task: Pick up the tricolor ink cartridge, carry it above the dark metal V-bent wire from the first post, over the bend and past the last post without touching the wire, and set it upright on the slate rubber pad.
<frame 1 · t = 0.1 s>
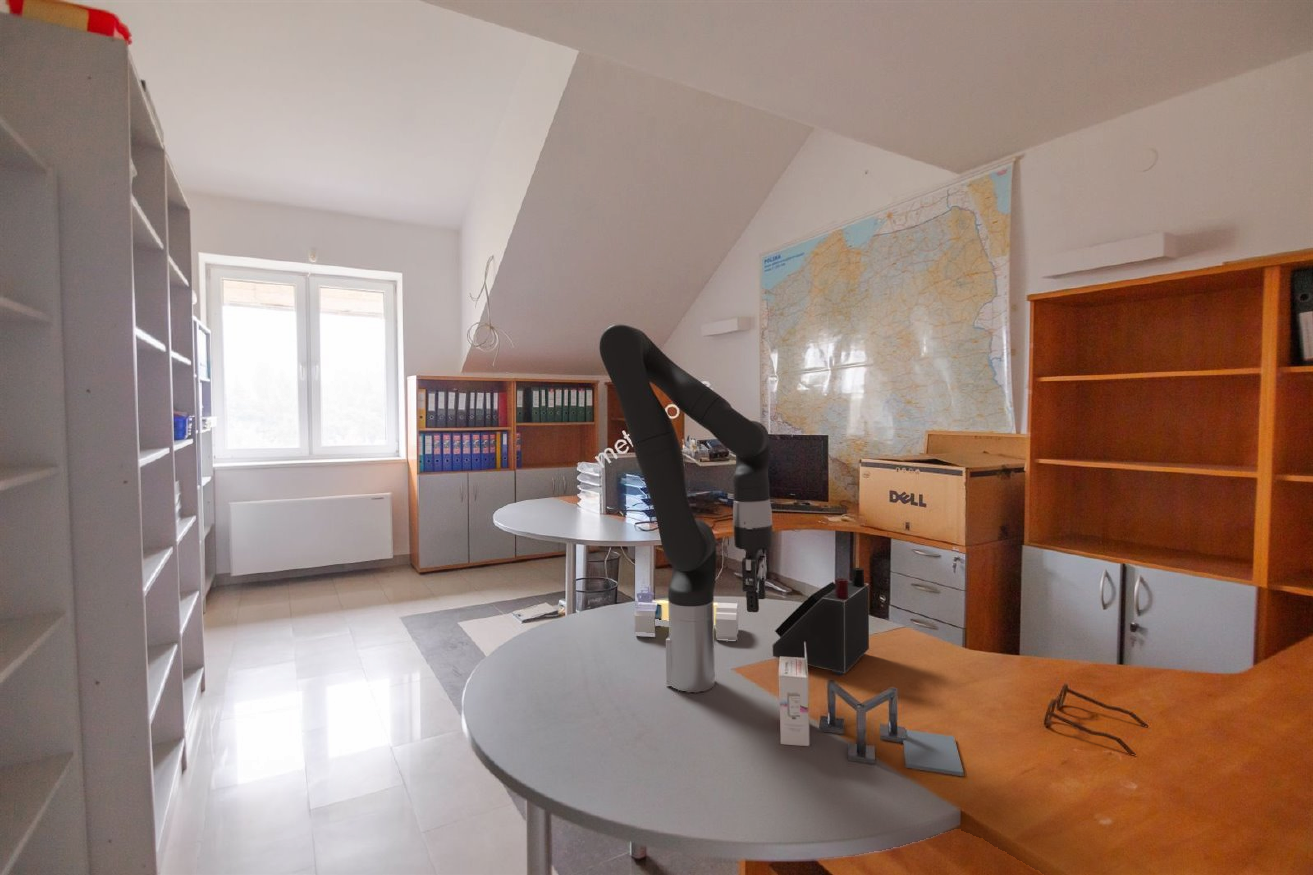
hand: (756, 605, 121), 17 cm above the table, tool pointing down, fingers open, 8 cm apart
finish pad: (930, 753, 99), on the table
diorama: (687, 635, 156), on the table
glasses: (1096, 731, 106), on the table
bent wire: (861, 743, 102), on the table
voltmeter: (820, 659, 138), on the table
ink cartridge box: (794, 734, 106), on the table
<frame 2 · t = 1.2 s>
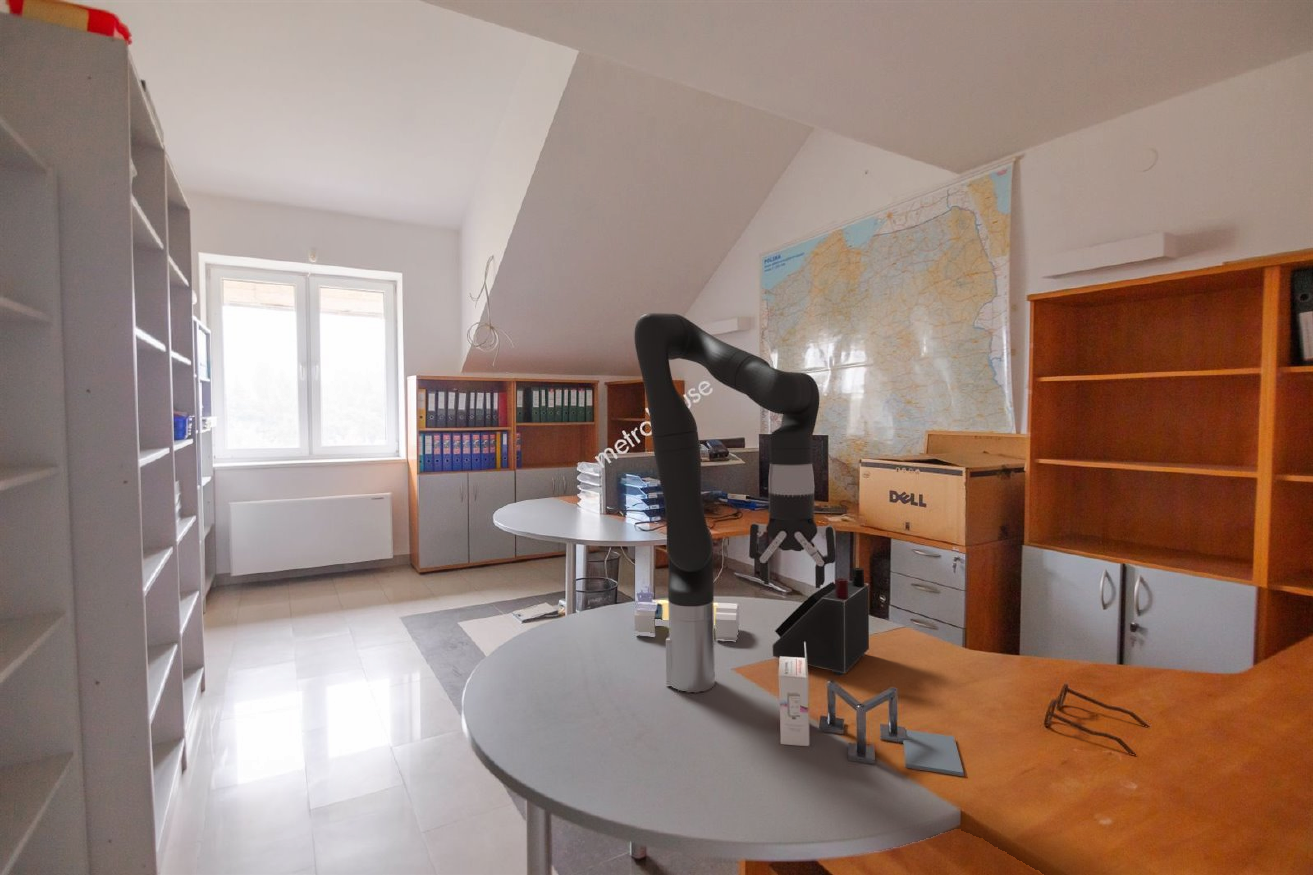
hand: (792, 585, 105), 25 cm above the table, tool pointing down, fingers open, 8 cm apart
nothing on the table moved.
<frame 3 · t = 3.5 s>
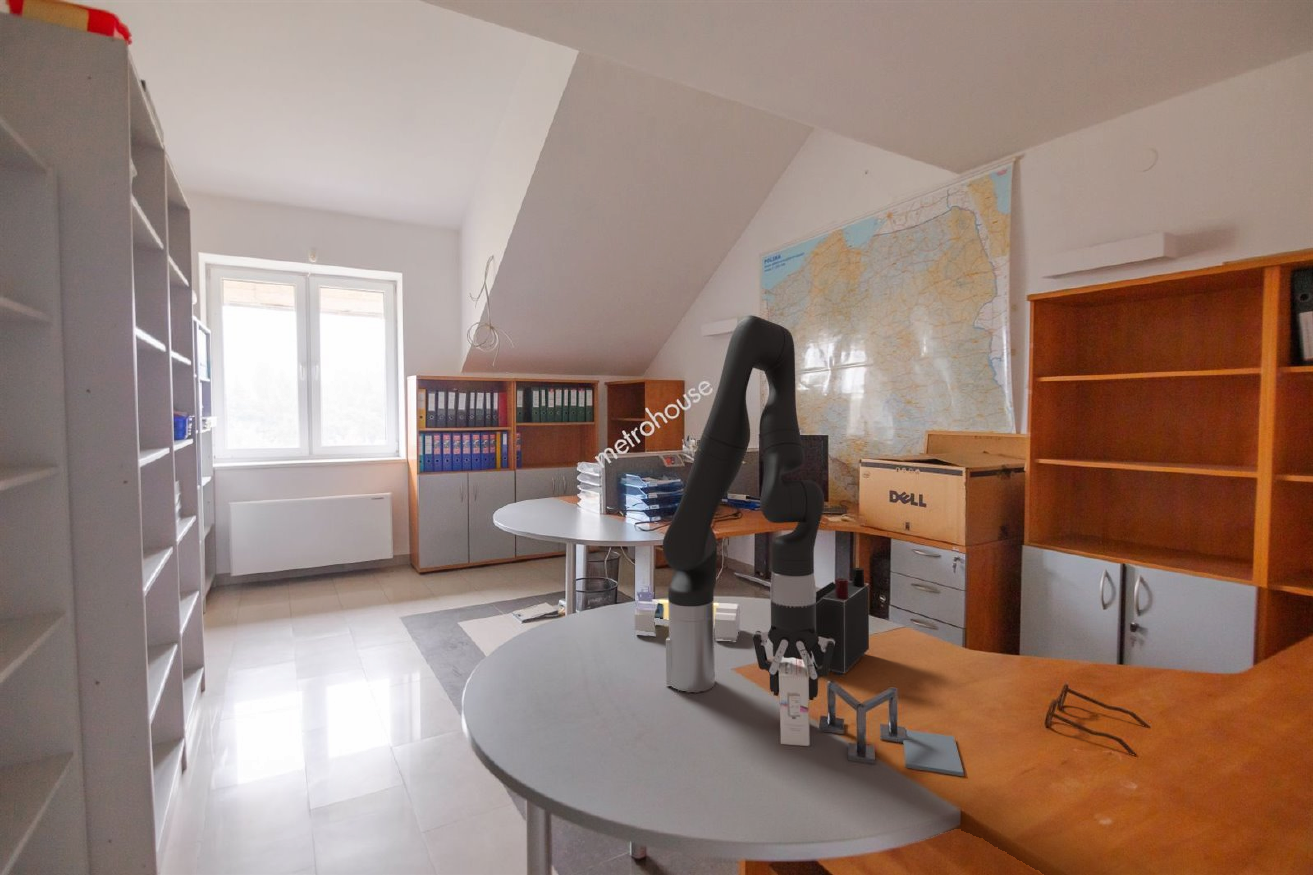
hand: (794, 695, 106), 6 cm above the table, tool pointing down, fingers closed on ink cartridge box, 5 cm apart
ink cartridge box: (794, 734, 106), on the table, touching gripper
everything else where it was.
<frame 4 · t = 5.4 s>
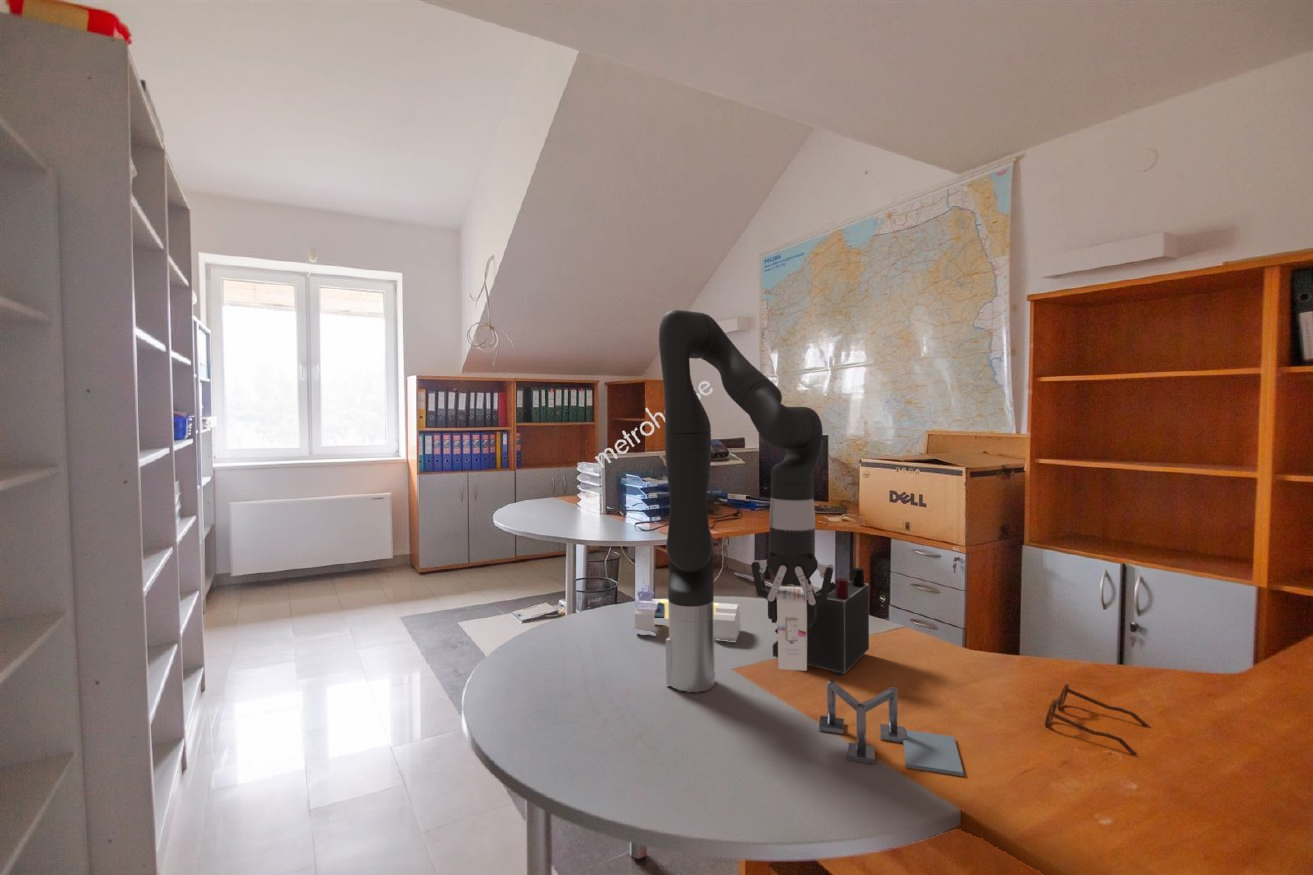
hand: (792, 623, 105), 19 cm above the table, tool pointing down, fingers closed on ink cartridge box, 5 cm apart
ink cartridge box: (791, 661, 106), point 12 cm above the table, touching gripper
everything else where it was.
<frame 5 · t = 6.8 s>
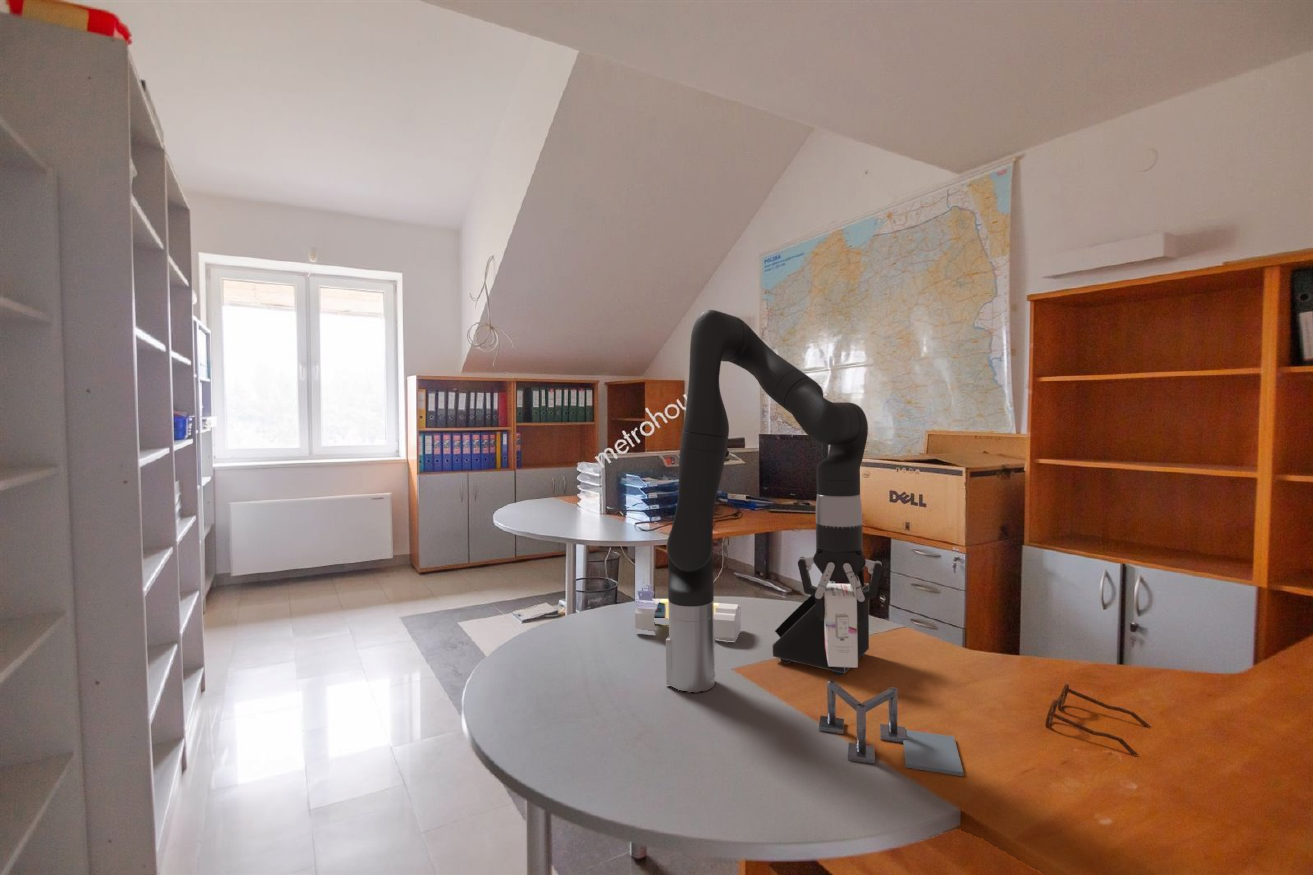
hand: (840, 620, 105), 20 cm above the table, tool pointing down, fingers closed on ink cartridge box, 5 cm apart
ink cartridge box: (840, 659, 105), point 13 cm above the table, touching gripper
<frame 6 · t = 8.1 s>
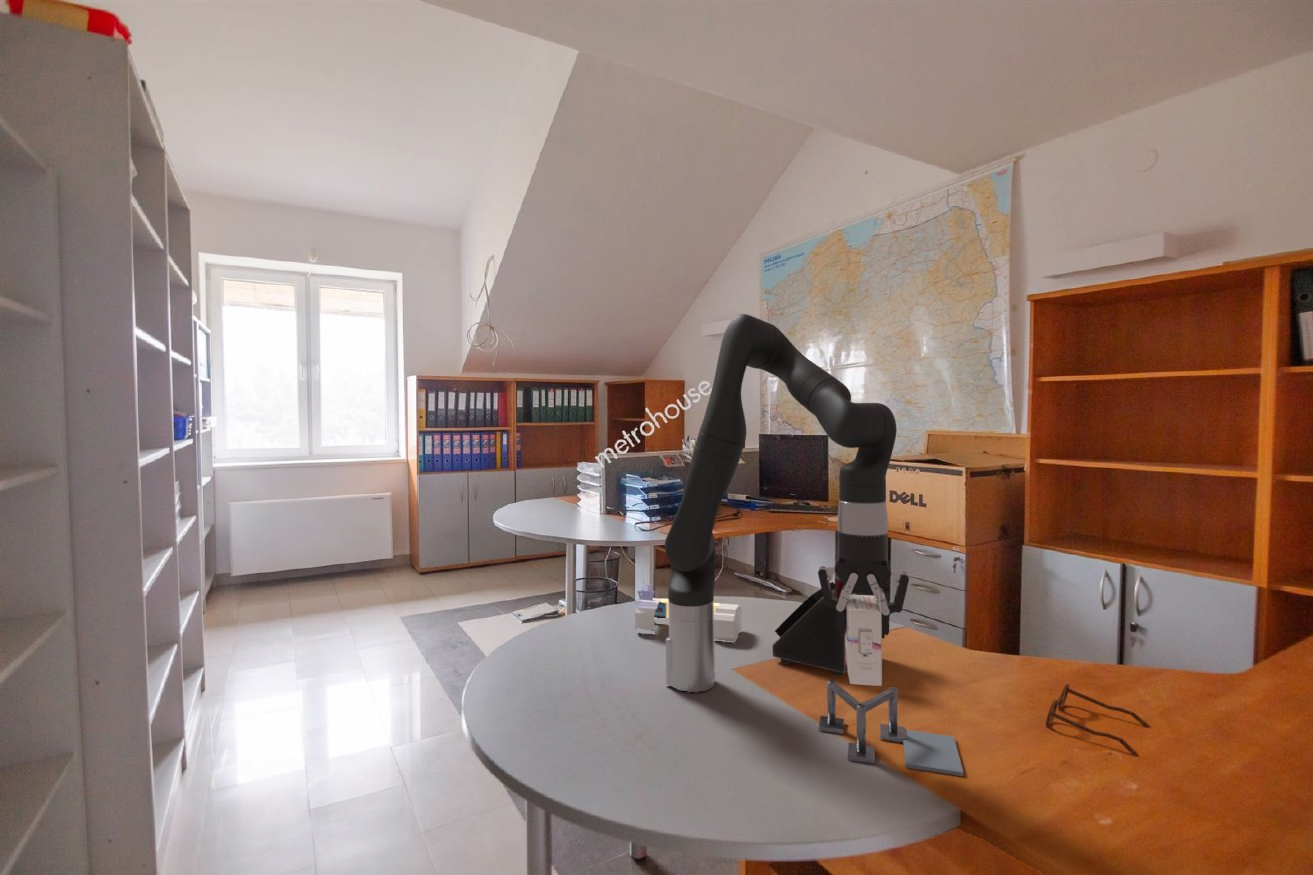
hand: (862, 634, 99), 19 cm above the table, tool pointing down, fingers closed on ink cartridge box, 5 cm apart
ink cartridge box: (862, 675, 99), point 13 cm above the table, touching gripper
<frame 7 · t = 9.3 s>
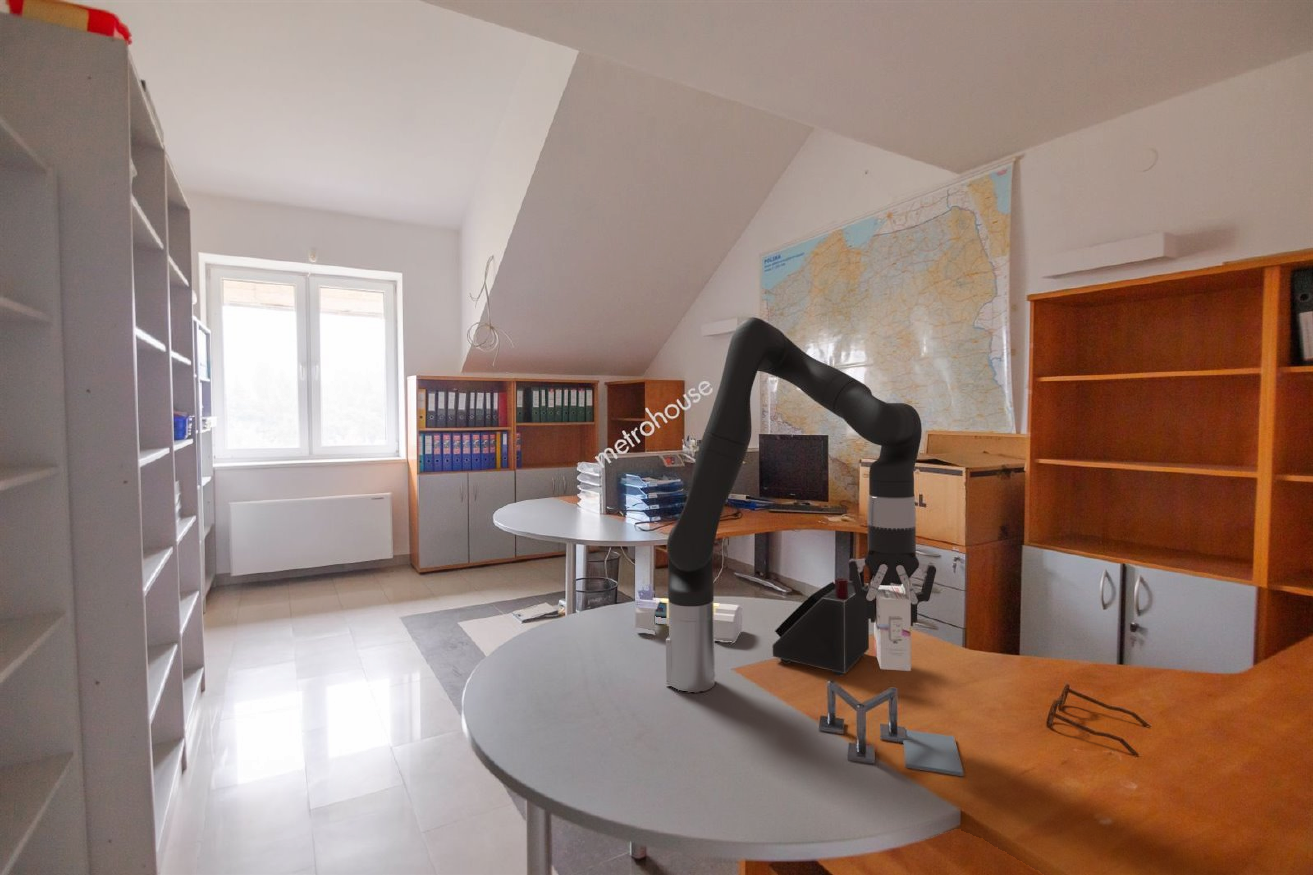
hand: (891, 622, 104), 19 cm above the table, tool pointing down, fingers closed on ink cartridge box, 5 cm apart
ink cartridge box: (891, 661, 104), point 13 cm above the table, touching gripper
when the fingers open (8 cm above the table, at t = 13.3 s): ink cartridge box drops 1 cm, resting on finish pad.
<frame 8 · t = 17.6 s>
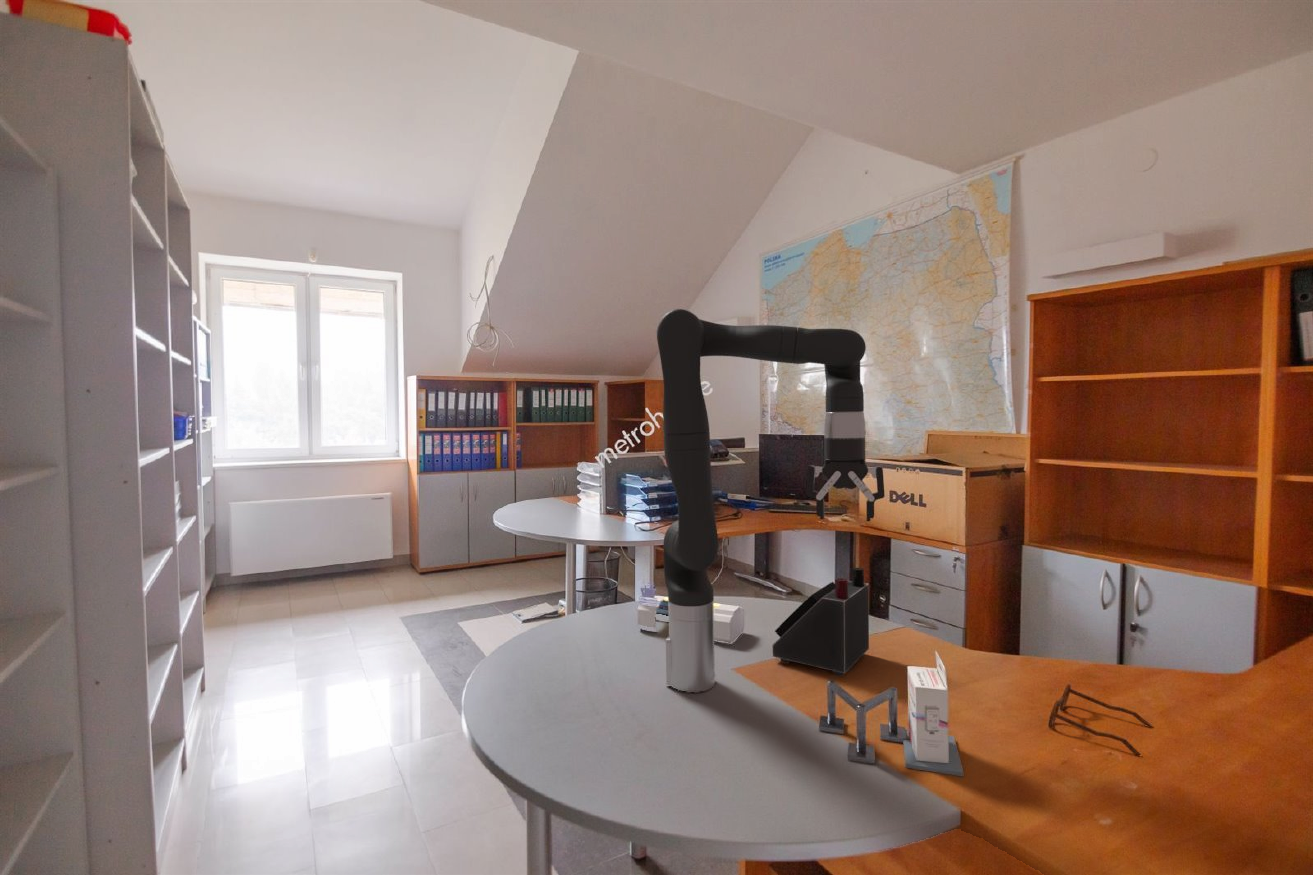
hand: (845, 519, 119), 34 cm above the table, tool pointing down, fingers open, 8 cm apart
ink cartridge box: (927, 749, 99), resting on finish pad
at the end: ink cartridge box 0.6 cm from the target spot, resting on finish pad; ink cartridge box touching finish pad; ink cartridge box tilted 0° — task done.
